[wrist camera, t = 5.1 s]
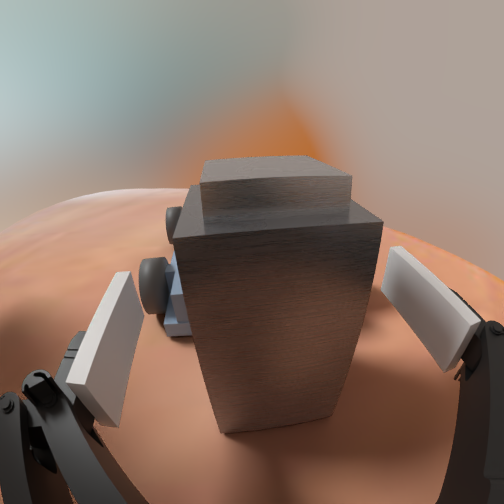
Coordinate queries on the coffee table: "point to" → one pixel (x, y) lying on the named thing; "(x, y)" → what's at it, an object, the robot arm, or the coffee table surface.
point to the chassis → (165, 285)
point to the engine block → (274, 286)
